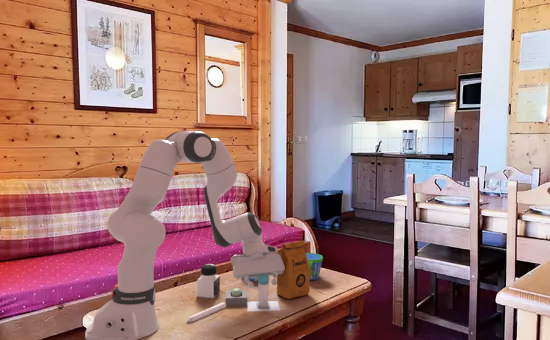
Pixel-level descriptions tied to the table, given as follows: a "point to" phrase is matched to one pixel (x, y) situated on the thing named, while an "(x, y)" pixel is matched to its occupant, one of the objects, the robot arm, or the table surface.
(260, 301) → the fat marker
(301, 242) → the coffee package
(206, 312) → the marker
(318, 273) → the snack cup
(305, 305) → the table surface
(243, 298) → the button housing
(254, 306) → the drawing sheet
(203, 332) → the table surface
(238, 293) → the button
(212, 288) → the medicine bottle
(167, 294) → the table surface
